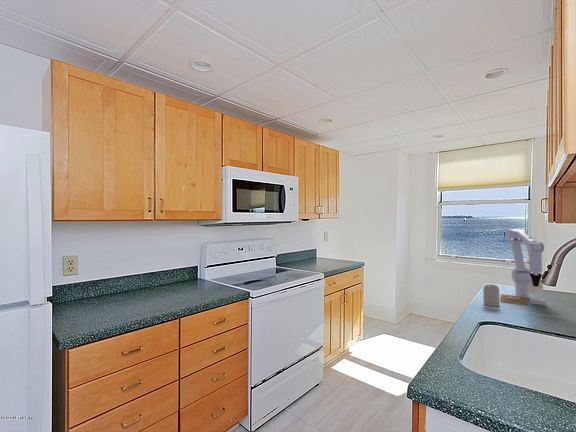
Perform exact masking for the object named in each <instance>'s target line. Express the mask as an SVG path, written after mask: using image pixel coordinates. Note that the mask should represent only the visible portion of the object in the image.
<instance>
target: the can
mask: <svg viewBox="0 0 576 432" xmlns="http://www.w3.org/2000/svg"><path fill="white" fill-rule="evenodd" d="M482 289H483V291H482V292H483V295H482V296H483V305H485V306H486V307H488V308H498V307H500V288H499V287H498V285H497V284H493V283H492V284H489V283H485V284H484V286H483V288H482Z"/></svg>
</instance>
